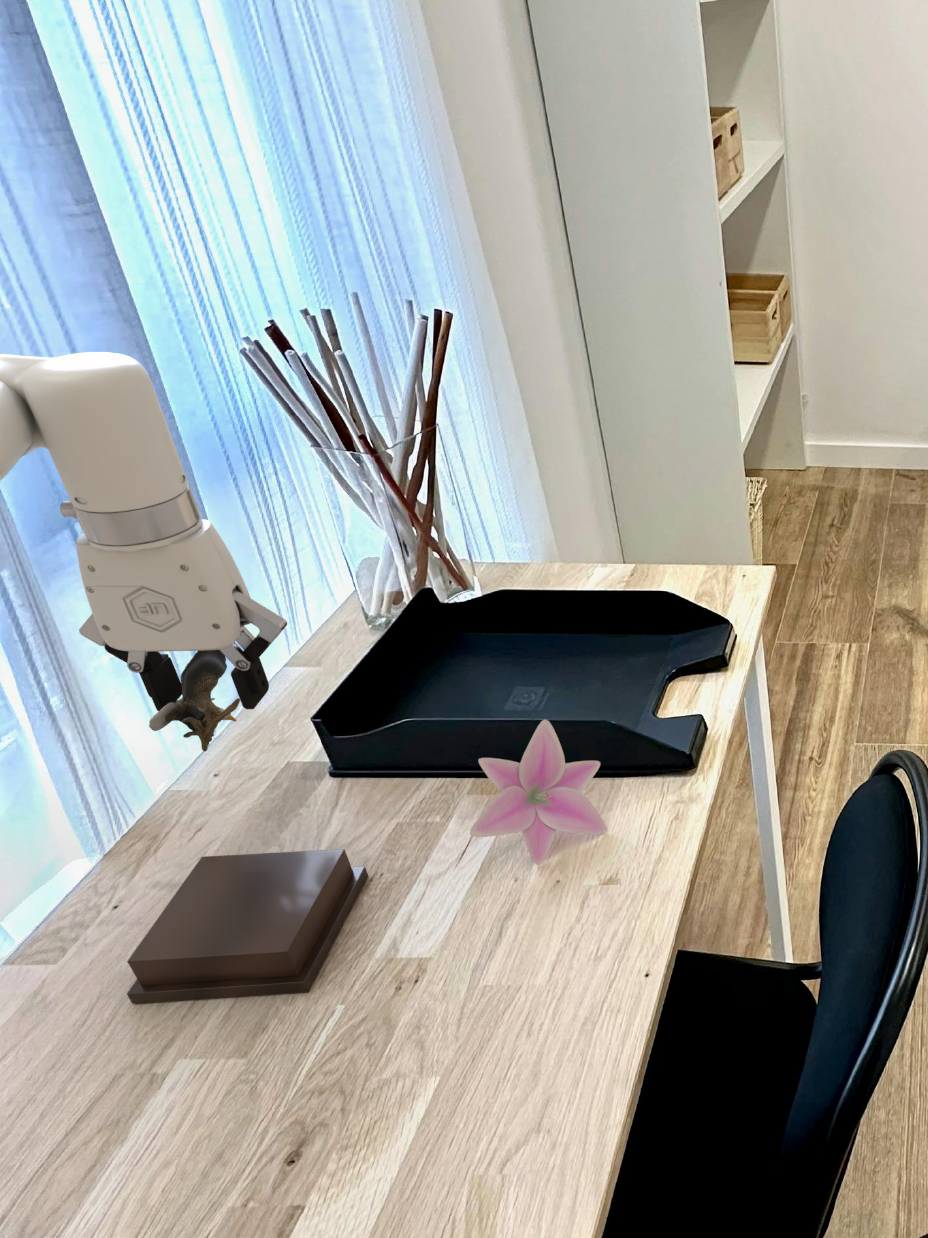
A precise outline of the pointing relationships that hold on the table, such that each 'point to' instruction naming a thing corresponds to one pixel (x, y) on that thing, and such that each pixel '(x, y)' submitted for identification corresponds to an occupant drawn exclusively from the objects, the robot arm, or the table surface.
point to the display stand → (247, 927)
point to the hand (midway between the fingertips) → (213, 699)
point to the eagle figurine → (198, 698)
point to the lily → (539, 795)
